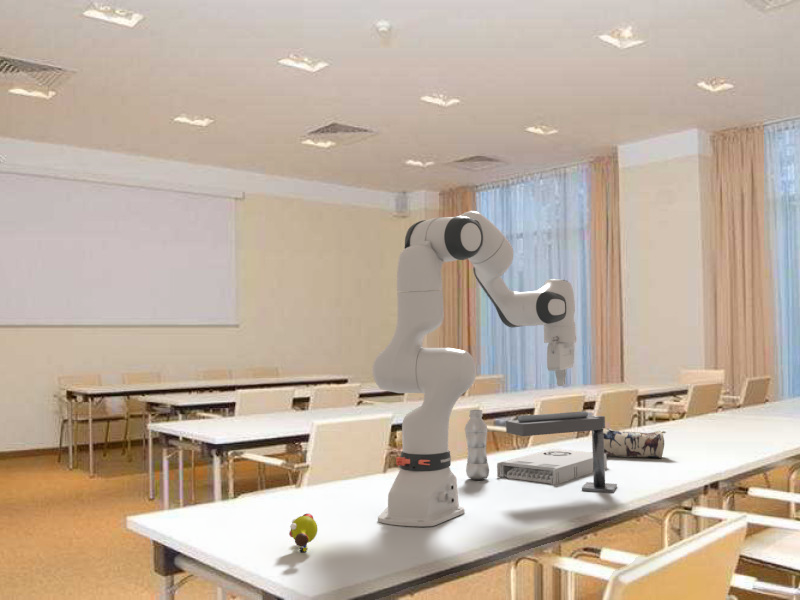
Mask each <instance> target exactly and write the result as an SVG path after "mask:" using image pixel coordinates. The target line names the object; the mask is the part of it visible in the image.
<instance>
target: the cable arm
mask: <svg viewBox="0 0 800 600" xmlns="http://www.w3.org/2000/svg"><path fill="white" fill-rule="evenodd" d="M505 425H506V426H505V430H506V434H511V435H515V436H519V437H530V436H543V435H544V436H545V435H555V434H564V433H565V434H567V433H577V432H578V433H580V432H589V431H591V432H592V430H601V429H606V417H605V415H589V414H588V411H574V412H573V411H570V412H559V413H545V414H544V413H541V414H528V415H519V416H518V417H517V419H516V420H506V421H505Z"/></svg>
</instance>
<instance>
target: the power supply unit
mask: <svg viewBox="0 0 800 600" xmlns="http://www.w3.org/2000/svg"><path fill="white" fill-rule="evenodd" d="M607 457H608V456H606V454H604V463H605V469H607V467H608V465H607V464H608V460H607ZM496 471H497V474H496V477H497V478H498V479H499V478H502V477H505V478H506V479H509V480H510V479H512V480H516V481H517V480H519V481H520V480H521V481H526V482H527V481H528V482H529V481H530V482H531V483H532V482H535V483H541V484H542V483H545V484H550V485H553V486H555V485H559V484H561V483H565V482H568V481H570V479H571V480H574V479H576V478H579V477H582V476H586V475H589V474H592V473H593V451H592V452H590V451H581V450H579V451H578V450H569V449H568V450H567V449H562V448H561V449H559V448H550V449H547V450H542V451H539V452H535V453H531V454H527V455H523V456H520V457H519V456H518V457H514V458H512V459H507V460H503V461H499V462H497V463H496ZM573 478H574V479H573ZM567 480H568V481H567Z"/></svg>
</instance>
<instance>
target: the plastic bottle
mask: <svg viewBox="0 0 800 600" xmlns="http://www.w3.org/2000/svg"><path fill="white" fill-rule="evenodd" d="M483 416H484V415H483V410H482V409H469V419H468V420H467V422H466V424H465V426H464V432H465V439H466V445H467V458H466V459H467V460H466V462H467V463H466V466H465V472H466V476H467V478H468V479H472V480H475V481H480V480H484V479H487V478H488V477H489V475H490V469H489V467H490V466H489V463H488V457H487V437H488V427H487V424H486V422H485V421H484V419H483V418H482V417H483Z"/></svg>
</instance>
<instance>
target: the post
mask: <svg viewBox="0 0 800 600" xmlns="http://www.w3.org/2000/svg"><path fill="white" fill-rule="evenodd" d="M603 429H604V428H602V429H601V430H592V431H591V437H592V438H591V442H592V443H591V445H592V452H593V472H592V473H593V475H592V477H593V482H590V481H589V482H588V481H587V482H585V484H584V485H582V487H581V491H582V492H593V493H594V492H596V493H611V494H613V493H615V491H616V489H617V488H618V483H607V482H606V468H605V463H604V433H603Z"/></svg>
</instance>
